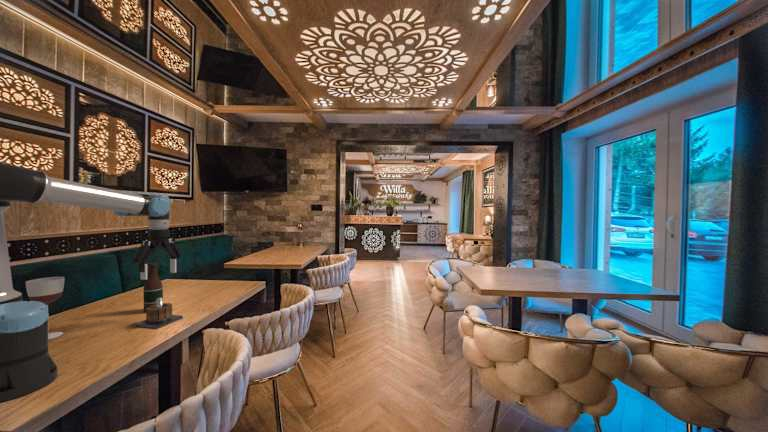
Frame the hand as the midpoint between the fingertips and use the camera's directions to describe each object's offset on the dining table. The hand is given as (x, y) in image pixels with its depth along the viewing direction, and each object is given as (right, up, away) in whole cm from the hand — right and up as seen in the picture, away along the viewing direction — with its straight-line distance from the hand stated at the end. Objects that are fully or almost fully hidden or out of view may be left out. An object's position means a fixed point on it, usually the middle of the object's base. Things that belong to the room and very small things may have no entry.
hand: (159, 275), depth 128 cm
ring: (0, -19, 0) cm, 19 cm away
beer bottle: (-15, -21, +15) cm, 30 cm away
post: (0, -21, 0) cm, 21 cm away
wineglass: (-33, -21, -15) cm, 42 cm away
